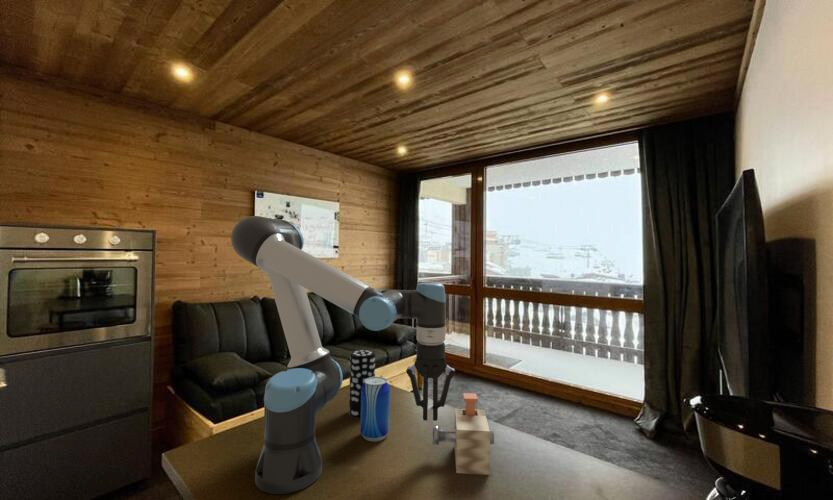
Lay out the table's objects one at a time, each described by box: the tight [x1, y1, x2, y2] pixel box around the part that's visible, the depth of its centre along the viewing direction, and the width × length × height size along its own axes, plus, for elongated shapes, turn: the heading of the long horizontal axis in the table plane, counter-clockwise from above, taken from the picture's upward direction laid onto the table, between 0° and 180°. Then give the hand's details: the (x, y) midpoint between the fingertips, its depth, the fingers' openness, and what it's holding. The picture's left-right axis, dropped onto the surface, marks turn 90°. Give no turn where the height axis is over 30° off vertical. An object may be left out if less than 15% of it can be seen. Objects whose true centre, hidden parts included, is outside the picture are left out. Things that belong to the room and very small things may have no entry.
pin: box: [432, 424, 495, 446], centre depth 93 cm, size 16×5×5 cm, turn 86°
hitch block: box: [453, 408, 491, 476], centre depth 93 cm, size 8×12×10 cm, turn 176°
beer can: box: [359, 376, 391, 442], centre depth 105 cm, size 8×8×16 cm
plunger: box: [462, 392, 479, 416], centre depth 97 cm, size 4×4×8 cm
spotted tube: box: [348, 349, 376, 420], centre depth 119 cm, size 8×8×20 cm
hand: (430, 432), depth 94 cm, fingers closed
